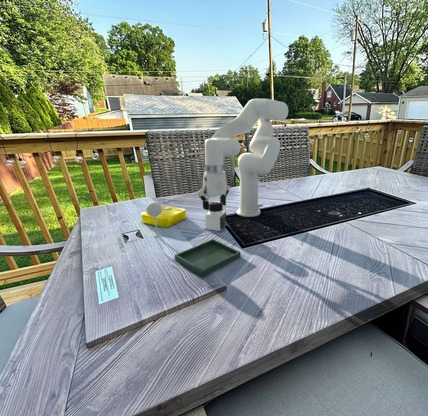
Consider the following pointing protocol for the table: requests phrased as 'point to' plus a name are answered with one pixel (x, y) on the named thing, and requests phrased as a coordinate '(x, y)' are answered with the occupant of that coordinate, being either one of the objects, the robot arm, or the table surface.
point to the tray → (207, 257)
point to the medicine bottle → (215, 216)
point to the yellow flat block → (165, 216)
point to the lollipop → (154, 211)
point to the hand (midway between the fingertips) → (214, 207)
